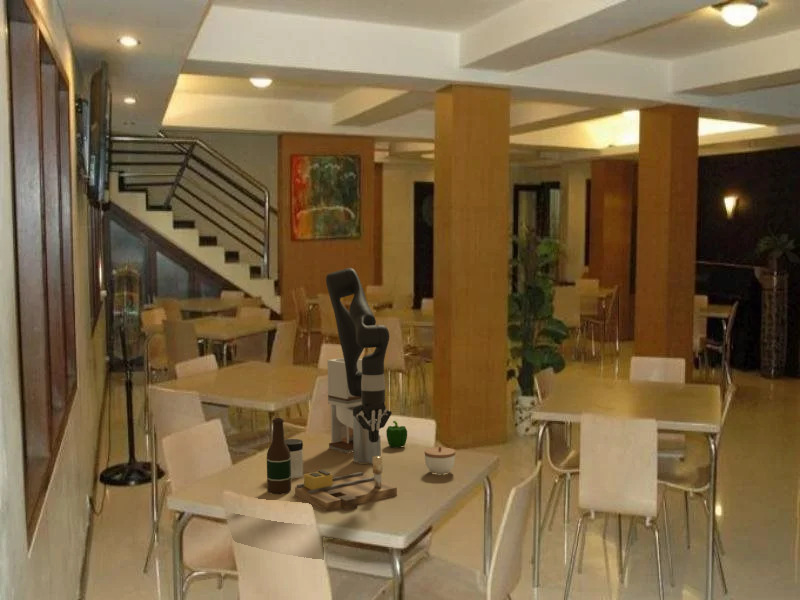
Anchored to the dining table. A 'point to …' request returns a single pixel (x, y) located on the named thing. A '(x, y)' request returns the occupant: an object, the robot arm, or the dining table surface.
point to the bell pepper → (396, 435)
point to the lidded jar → (440, 459)
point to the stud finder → (318, 479)
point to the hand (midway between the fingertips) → (373, 441)
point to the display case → (341, 405)
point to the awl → (377, 471)
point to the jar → (296, 457)
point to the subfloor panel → (346, 492)
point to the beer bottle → (278, 461)
